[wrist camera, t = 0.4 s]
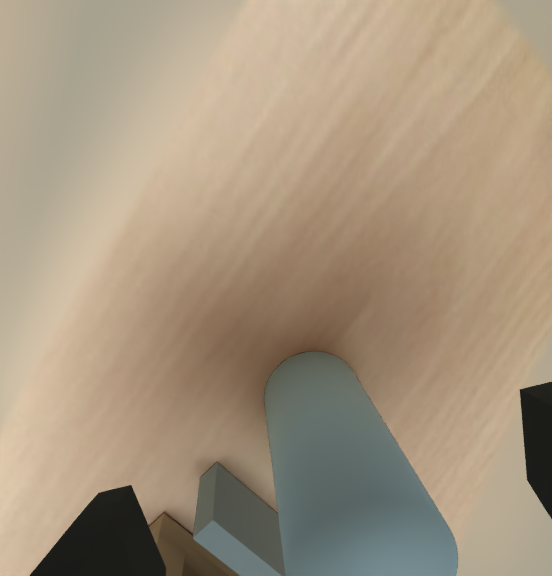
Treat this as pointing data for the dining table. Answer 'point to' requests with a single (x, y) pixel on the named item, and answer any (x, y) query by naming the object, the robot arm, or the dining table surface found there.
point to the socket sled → (185, 552)
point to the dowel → (346, 480)
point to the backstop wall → (237, 525)
